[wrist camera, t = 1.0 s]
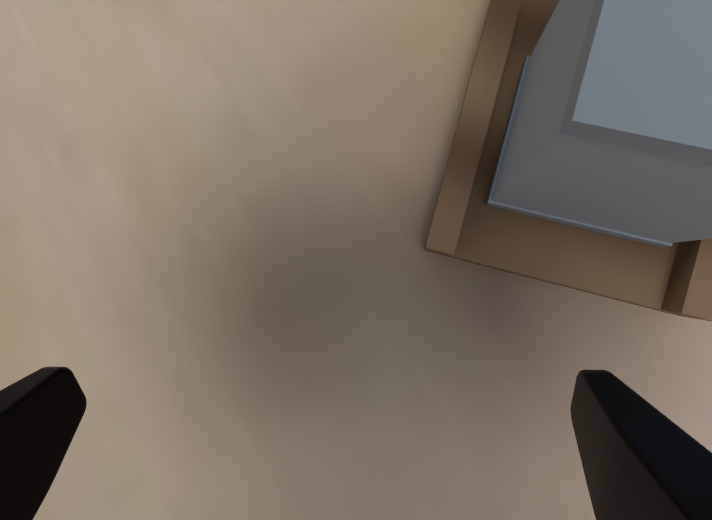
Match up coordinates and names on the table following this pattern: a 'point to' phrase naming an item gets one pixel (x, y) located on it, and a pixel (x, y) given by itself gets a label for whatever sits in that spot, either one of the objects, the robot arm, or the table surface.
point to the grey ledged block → (615, 122)
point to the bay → (535, 235)
